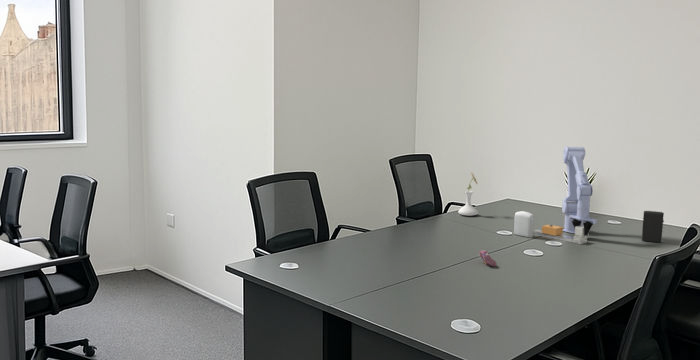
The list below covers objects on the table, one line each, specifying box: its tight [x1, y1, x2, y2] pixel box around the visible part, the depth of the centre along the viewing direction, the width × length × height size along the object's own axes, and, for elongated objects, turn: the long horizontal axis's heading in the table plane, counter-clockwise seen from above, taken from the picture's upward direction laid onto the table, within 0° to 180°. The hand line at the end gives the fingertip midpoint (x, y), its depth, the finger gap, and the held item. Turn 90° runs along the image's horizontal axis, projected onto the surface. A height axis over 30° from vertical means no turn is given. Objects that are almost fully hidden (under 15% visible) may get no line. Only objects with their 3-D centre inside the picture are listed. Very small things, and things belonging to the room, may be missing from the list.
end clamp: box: [541, 224, 564, 236], centre depth 346 cm, size 6×8×4 cm
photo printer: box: [513, 210, 535, 238], centre depth 347 cm, size 10×4×12 cm, turn 39°
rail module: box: [574, 225, 590, 239], centre depth 344 cm, size 6×4×6 cm, turn 130°
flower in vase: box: [457, 171, 479, 217], centre depth 398 cm, size 13×11×25 cm
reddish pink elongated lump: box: [477, 249, 497, 267], centre depth 293 cm, size 10×5×7 cm, turn 5°
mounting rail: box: [533, 228, 588, 245], centre depth 344 cm, size 6×29×4 cm, turn 40°
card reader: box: [641, 210, 665, 244], centre depth 338 cm, size 9×4×15 cm, turn 65°
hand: (581, 235), depth 344 cm, fingers closed on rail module, 4 cm apart
